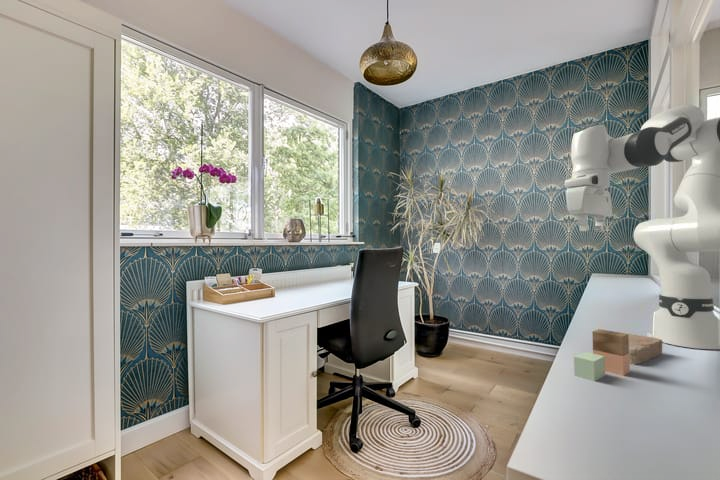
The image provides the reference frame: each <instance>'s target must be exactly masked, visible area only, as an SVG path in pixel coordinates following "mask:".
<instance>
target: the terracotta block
mask: <svg viewBox="0 0 720 480" xmlns="http://www.w3.org/2000/svg"><path fill="white" fill-rule="evenodd" d="M592 353H593V354H597V355H602V356H605V373H610V374H614V375H619V376H623V377H624V376H626V375H627V374H630V372H631V370H630V369H631V368H630V367H631V366H630V365H631V364H630V361H629V353H628V354H626V355H624V356H619V355H615V354H610V353H605V352H601V351H596V350H593V349H592Z"/></svg>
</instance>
